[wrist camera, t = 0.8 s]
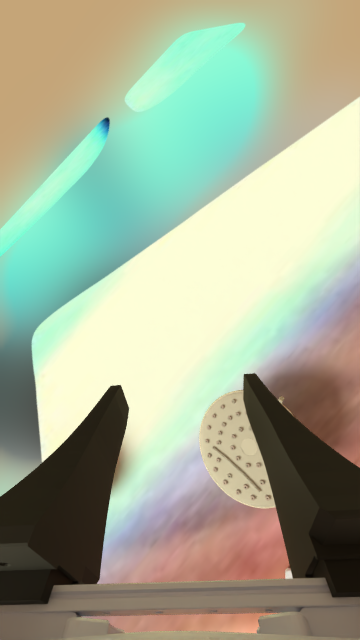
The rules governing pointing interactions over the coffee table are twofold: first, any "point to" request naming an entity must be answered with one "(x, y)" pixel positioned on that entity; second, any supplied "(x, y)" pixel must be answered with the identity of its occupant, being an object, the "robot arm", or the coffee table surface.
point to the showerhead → (235, 452)
